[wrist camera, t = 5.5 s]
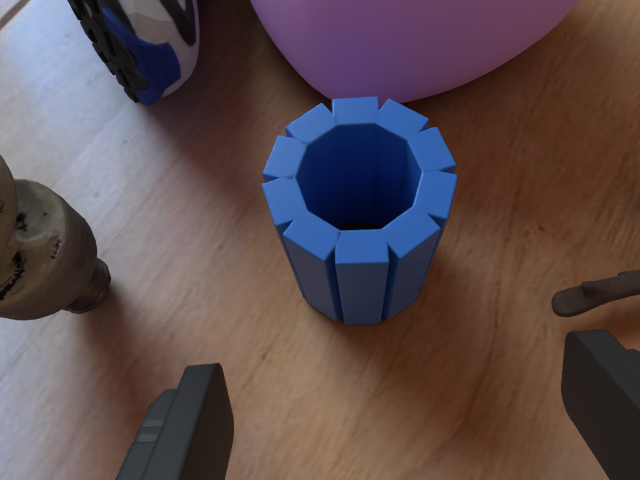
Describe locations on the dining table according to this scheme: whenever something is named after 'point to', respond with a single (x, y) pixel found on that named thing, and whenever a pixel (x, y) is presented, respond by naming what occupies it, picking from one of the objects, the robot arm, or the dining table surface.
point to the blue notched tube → (360, 205)
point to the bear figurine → (595, 294)
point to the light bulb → (45, 253)
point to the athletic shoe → (143, 42)
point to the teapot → (403, 41)
